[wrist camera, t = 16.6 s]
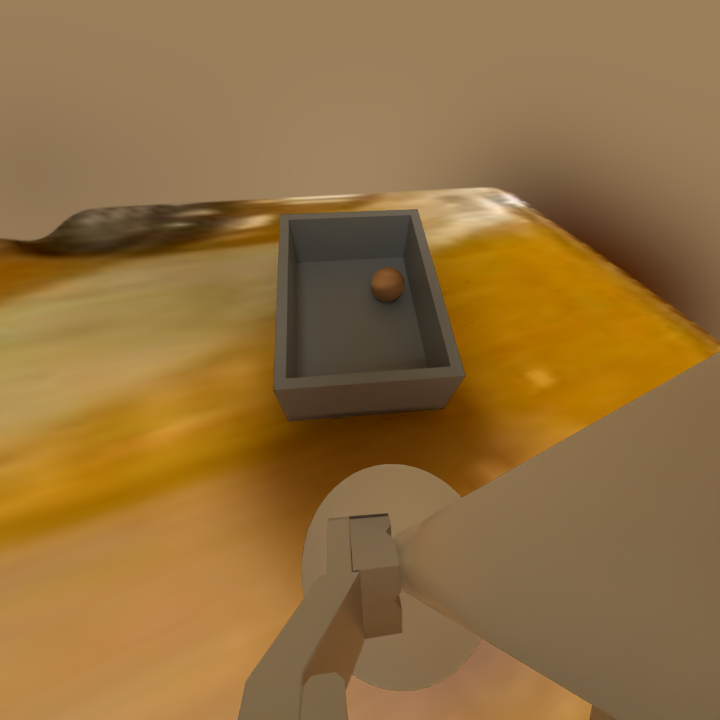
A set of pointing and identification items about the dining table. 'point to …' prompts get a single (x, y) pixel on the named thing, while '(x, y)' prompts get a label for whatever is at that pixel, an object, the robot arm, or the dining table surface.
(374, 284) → the ball
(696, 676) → the pedestal dish
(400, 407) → the tray
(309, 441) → the dining table surface
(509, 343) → the dining table surface
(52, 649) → the dining table surface
